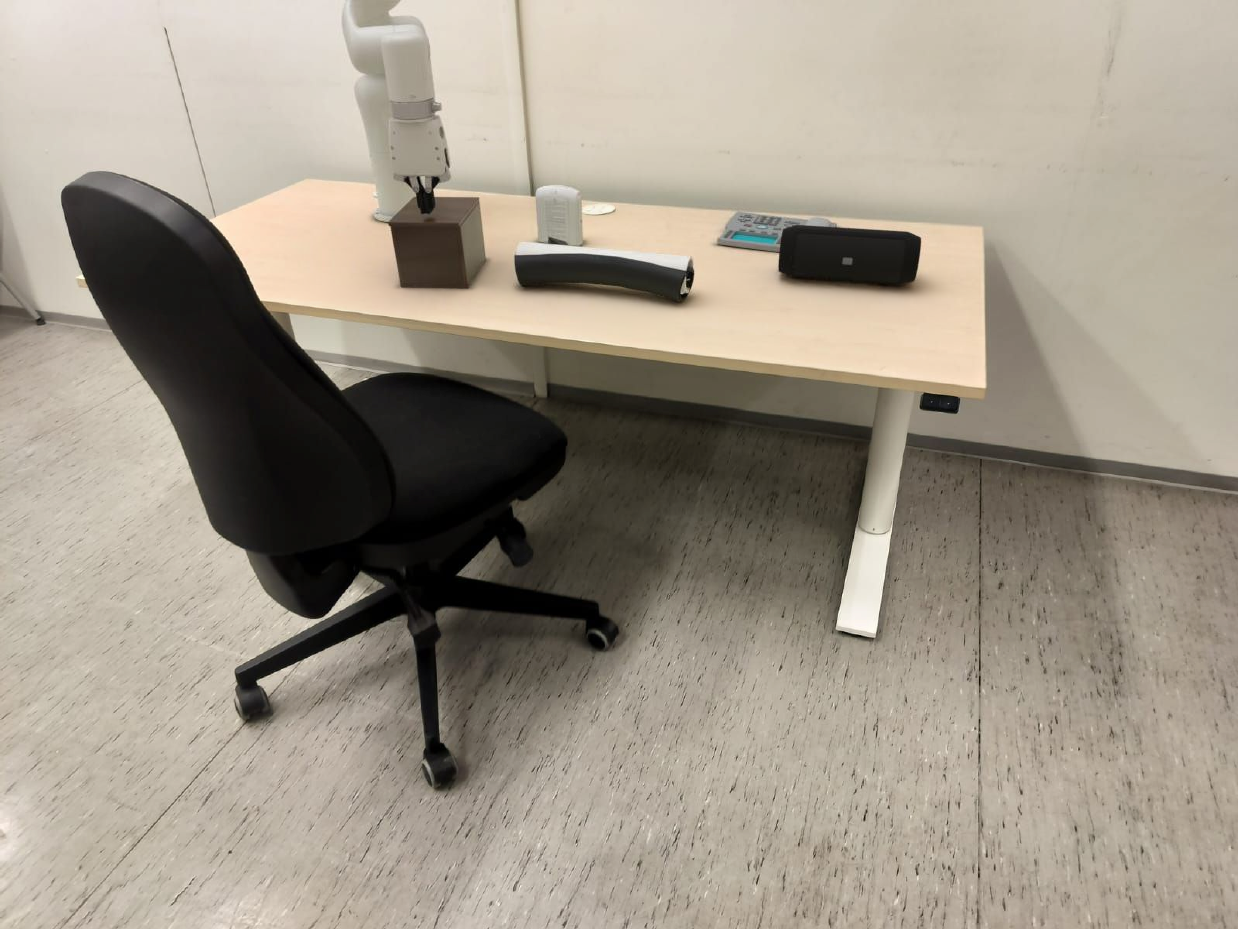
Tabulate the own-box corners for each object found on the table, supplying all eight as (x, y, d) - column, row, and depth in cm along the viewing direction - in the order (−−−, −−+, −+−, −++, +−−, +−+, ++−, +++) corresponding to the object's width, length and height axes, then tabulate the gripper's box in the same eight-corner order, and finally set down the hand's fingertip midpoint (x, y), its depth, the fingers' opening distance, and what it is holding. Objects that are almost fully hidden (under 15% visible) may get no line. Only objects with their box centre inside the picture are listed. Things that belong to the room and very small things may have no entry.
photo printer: (586, 241, 187) (583, 184, 181) (579, 247, 184) (576, 190, 177) (542, 237, 190) (538, 181, 183) (535, 243, 187) (531, 186, 180)
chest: (468, 288, 166) (460, 226, 159) (400, 287, 168) (390, 225, 161) (486, 259, 179) (479, 201, 172) (423, 258, 180) (414, 200, 174)
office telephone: (838, 216, 190) (820, 245, 175) (836, 228, 192) (819, 258, 176) (737, 205, 198) (712, 232, 182) (736, 216, 199) (711, 244, 184)
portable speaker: (776, 284, 165) (780, 233, 159) (781, 265, 173) (785, 217, 167) (913, 294, 159) (923, 242, 154) (912, 275, 167) (921, 225, 162)
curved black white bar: (691, 316, 161) (704, 254, 165) (685, 291, 152) (699, 226, 156) (520, 298, 170) (537, 240, 174) (505, 273, 161) (523, 212, 165)
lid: (459, 227, 159) (458, 222, 158) (388, 226, 160) (387, 221, 160) (479, 201, 172) (479, 197, 172) (414, 200, 174) (413, 196, 173)
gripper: (459, 105, 154) (470, 206, 164) (378, 104, 155) (395, 204, 165) (448, 114, 148) (461, 218, 158) (364, 114, 149) (383, 217, 159)
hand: (427, 211), depth 162 cm, fingers closed
